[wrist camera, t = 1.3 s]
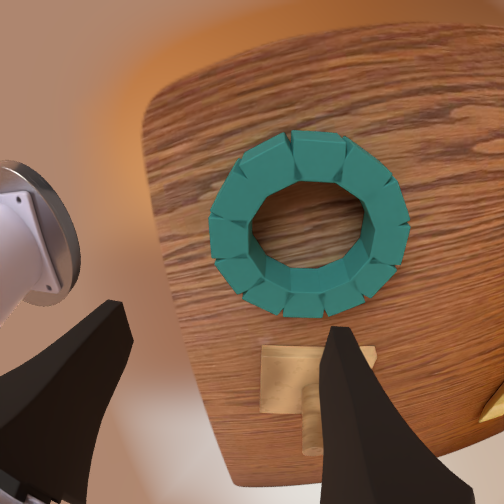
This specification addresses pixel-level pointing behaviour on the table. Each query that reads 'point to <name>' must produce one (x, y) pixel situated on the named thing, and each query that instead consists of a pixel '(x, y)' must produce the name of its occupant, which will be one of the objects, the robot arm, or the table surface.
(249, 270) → the ring
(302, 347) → the holder
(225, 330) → the table surface
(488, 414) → the saucer
